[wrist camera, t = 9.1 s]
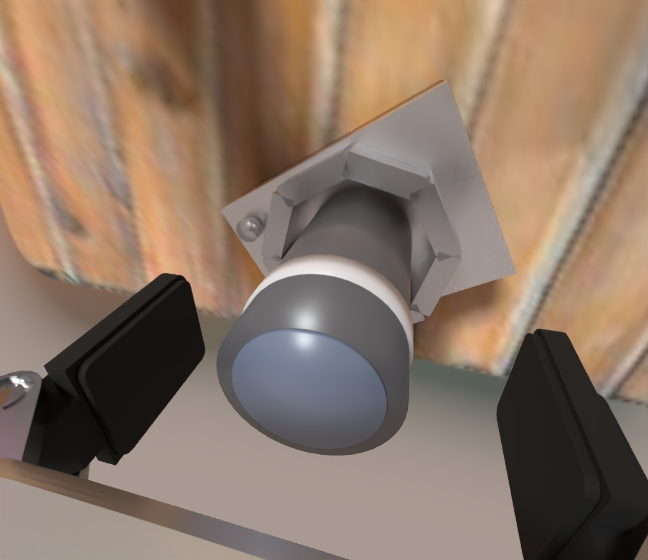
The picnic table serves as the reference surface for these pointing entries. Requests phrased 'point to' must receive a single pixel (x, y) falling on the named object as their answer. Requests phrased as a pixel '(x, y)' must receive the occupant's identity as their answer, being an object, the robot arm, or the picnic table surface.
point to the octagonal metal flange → (391, 197)
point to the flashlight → (329, 333)
